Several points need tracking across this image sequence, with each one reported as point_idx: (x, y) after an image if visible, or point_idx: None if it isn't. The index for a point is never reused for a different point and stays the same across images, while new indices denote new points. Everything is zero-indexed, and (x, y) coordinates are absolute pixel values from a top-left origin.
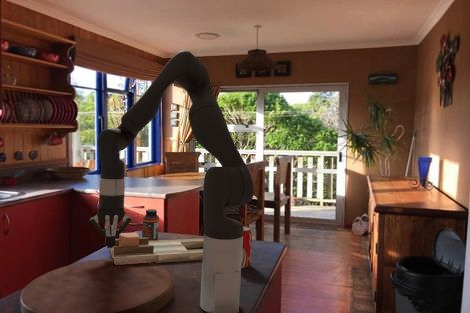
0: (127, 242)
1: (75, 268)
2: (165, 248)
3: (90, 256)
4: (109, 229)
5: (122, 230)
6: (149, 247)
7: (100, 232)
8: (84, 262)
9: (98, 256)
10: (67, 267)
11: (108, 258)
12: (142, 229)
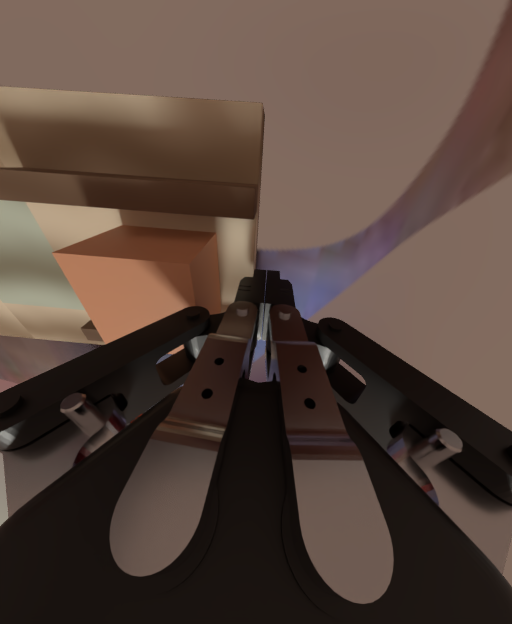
0: (159, 245)
1: (475, 135)
2: None
3: (329, 299)
4: (275, 340)
5: (164, 322)
6: (15, 170)
7: (347, 331)
8: (382, 231)
9: (302, 291)
10: (497, 171)
11: (271, 257)
12: (140, 415)
